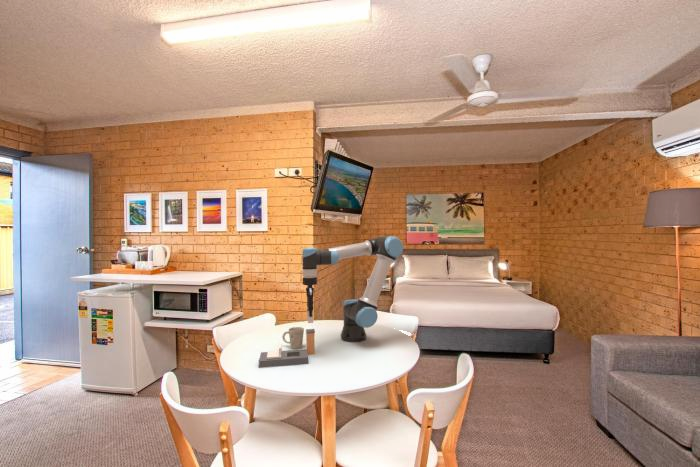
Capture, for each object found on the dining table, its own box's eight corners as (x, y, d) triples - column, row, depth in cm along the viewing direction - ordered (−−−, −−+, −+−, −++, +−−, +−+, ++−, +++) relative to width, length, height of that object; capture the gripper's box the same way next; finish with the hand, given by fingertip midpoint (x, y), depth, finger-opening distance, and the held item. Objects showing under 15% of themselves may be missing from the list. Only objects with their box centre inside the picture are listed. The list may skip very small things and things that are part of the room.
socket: (306, 354, 168) (306, 348, 168) (308, 363, 156) (308, 357, 156) (261, 358, 164) (260, 352, 164) (258, 367, 152) (258, 361, 152)
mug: (300, 350, 175) (300, 331, 175) (279, 348, 178) (279, 330, 178) (306, 345, 183) (305, 327, 183) (285, 343, 186) (285, 326, 186)
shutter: (281, 351, 164) (281, 342, 164) (281, 357, 155) (281, 348, 155) (267, 352, 163) (267, 343, 163) (266, 359, 154) (266, 349, 154)
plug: (314, 351, 173) (314, 328, 173) (315, 354, 168) (314, 331, 169) (306, 352, 172) (305, 329, 172) (306, 355, 168) (306, 331, 168)
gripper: (301, 275, 178) (302, 317, 178) (303, 279, 161) (303, 326, 161) (315, 274, 180) (316, 317, 180) (318, 278, 163) (319, 325, 163)
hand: (310, 321), depth 170 cm, fingers open, 4 cm apart
